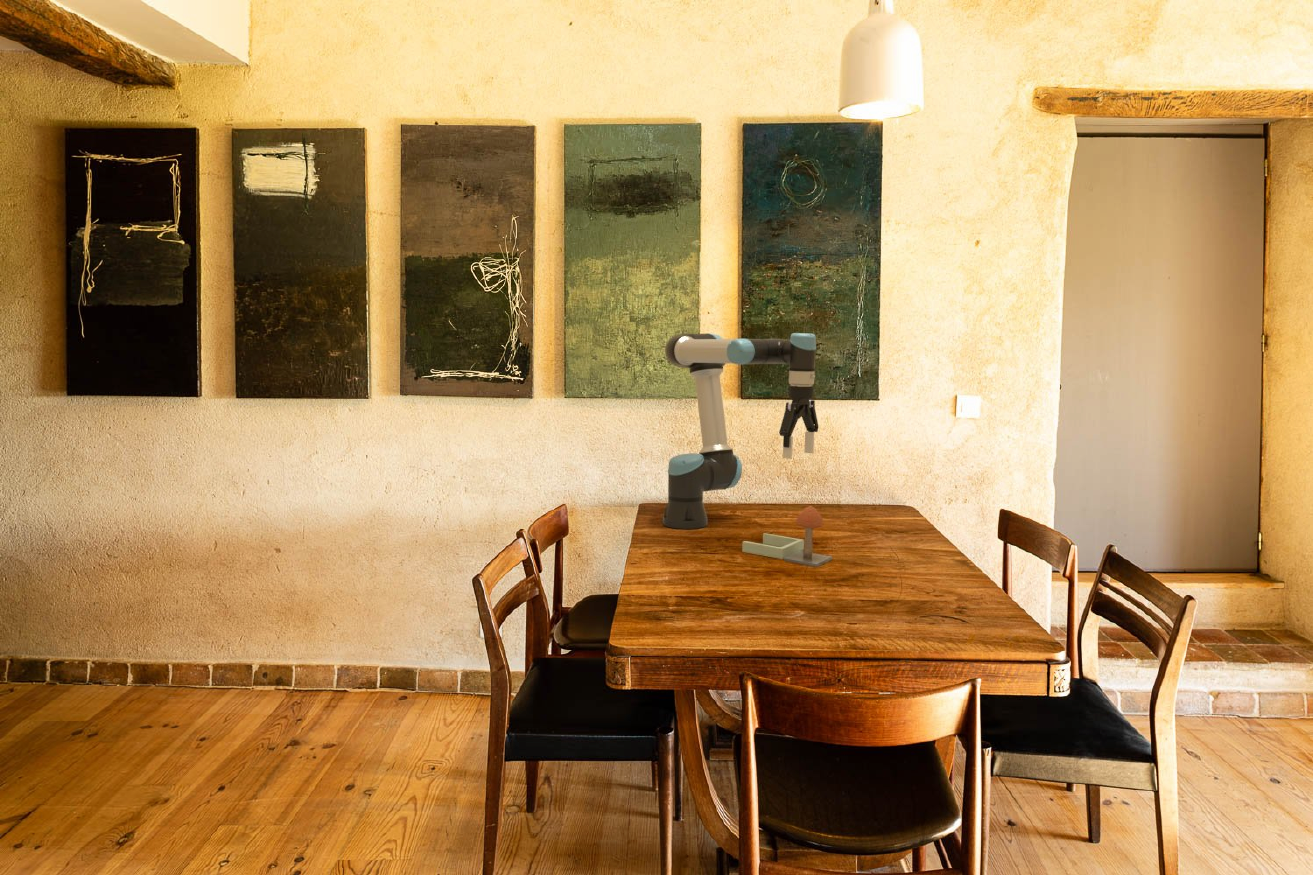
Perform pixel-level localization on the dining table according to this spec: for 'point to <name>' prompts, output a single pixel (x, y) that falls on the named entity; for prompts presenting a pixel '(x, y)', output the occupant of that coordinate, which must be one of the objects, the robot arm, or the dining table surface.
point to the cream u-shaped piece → (786, 546)
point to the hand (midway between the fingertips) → (798, 455)
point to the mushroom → (809, 527)
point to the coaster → (808, 559)
